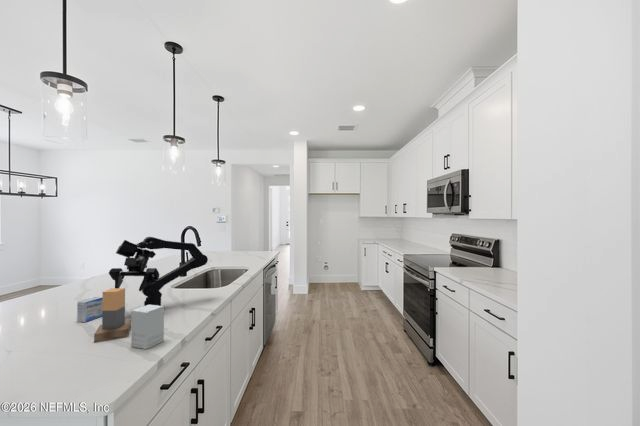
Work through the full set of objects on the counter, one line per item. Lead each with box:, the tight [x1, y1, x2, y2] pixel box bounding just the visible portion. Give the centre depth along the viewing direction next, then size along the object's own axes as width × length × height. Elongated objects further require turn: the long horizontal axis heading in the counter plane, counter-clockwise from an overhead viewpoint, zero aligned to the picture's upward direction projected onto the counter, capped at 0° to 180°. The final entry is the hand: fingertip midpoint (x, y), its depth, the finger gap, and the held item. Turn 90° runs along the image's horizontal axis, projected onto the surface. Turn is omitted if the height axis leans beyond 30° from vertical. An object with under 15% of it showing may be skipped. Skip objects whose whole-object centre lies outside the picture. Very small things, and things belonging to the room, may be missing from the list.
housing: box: [101, 287, 126, 329], centre depth 107 cm, size 5×5×14 cm
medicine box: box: [76, 296, 103, 323], centre depth 123 cm, size 8×4×9 cm, turn 169°
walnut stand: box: [93, 319, 131, 343], centre depth 107 cm, size 10×10×3 cm
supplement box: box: [130, 304, 165, 350], centre depth 99 cm, size 7×7×13 cm
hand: (127, 291), depth 119 cm, fingers open, 9 cm apart
